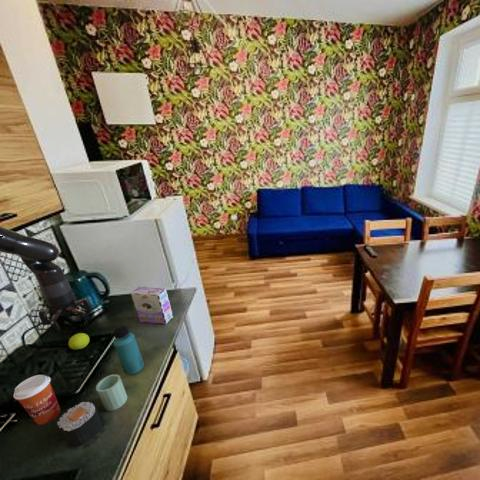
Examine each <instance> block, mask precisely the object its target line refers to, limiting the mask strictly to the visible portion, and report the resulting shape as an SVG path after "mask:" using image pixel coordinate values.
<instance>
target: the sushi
mask: <svg viewBox="0 0 480 480" xmlns="http://www.w3.org/2000/svg"><path fill="white" fill-rule="evenodd" d="M103 422H104V419H103V418H102V416H101V413H100V412H99V409H98V408H97V406H96V405H95V404H93V403H92V402H90V401H86V402H85V401H82V402H81V401H80V402H79V404H75V405H74V406H73V407H70V408H69V409H67V412H64V413H63V414H62V415H61V416H60V417H59V421H57V422H56V424H57V426H58V429H60V431H61V433H62V435H63V436H64V438H65V439H66V441H67V442H68V444H70V445H71V446H73V447H80V446H83V445H86V444H87V443H88V442H89V441H91V440H92V439H93V438H94V437H95V436H96V435H97V434H99V432H100V431H101V430H102V428H103V426H104V425H103Z"/></svg>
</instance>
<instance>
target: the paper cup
mask: <svg viewBox="0 0 480 480" xmlns="http://www.w3.org/2000/svg"><path fill="white" fill-rule="evenodd" d="M51 381H52V378H51V377H50V376H48V375H45V374H37V375H33V376H31V377H28V378H26V379H24V380H23V381H21V382H20V383H19V384H18V385H17V386H15V388H14V393H13V398H14V399H15V400H17V401H18V402H19V404H20V405H21V406H22V408H23V409H24V410H25V411H26V413H27V414H28V415H29V416H30V418H31V419H32V420H33V421H34V423H36V424H37V425H39V426H40V425H46V424H48V423H50V422H52V421H53V420H55V419H56V418H57V417H58V416H59V414H60V413H61V406H60V404H59V401H58V399H57V397H56V394H55V392H54V389H53V386H52V384H51Z"/></svg>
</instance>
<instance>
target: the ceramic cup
mask: <svg viewBox="0 0 480 480" xmlns="http://www.w3.org/2000/svg"><path fill="white" fill-rule="evenodd" d="M95 390H96V392H97V395H98V397H99V399H100V401H101V404H102V406H103V408H104V410H106V411H107V412H112V411H116V410H118V409H120V408H121V407H122V406H124V405H125V403H126V402H127V400H128V393H127V390H126V388H125V386H124V384H123V380H122V378H121V375H119V374H117V373H116V374H110V375H107V376H105V377H103V378H101V380H100V381H98V382H97V384H96V386H95Z"/></svg>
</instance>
